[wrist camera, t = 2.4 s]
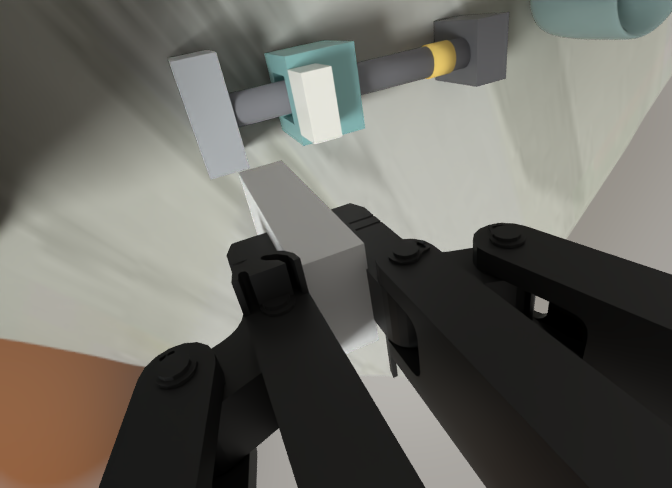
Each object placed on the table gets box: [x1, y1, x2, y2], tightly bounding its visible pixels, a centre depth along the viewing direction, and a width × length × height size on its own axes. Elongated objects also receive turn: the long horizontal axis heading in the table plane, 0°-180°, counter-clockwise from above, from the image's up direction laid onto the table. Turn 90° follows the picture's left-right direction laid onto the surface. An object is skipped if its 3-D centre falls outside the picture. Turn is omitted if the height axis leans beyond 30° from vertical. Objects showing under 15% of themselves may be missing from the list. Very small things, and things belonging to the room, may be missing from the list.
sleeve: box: [264, 40, 365, 146], centre depth 29 cm, size 5×6×9 cm
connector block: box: [434, 12, 509, 87], centre depth 35 cm, size 3×5×6 cm, turn 11°
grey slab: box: [167, 50, 250, 179], centre depth 30 cm, size 3×8×5 cm, turn 11°
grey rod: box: [228, 38, 471, 127], centre depth 31 cm, size 21×3×3 cm, turn 101°
